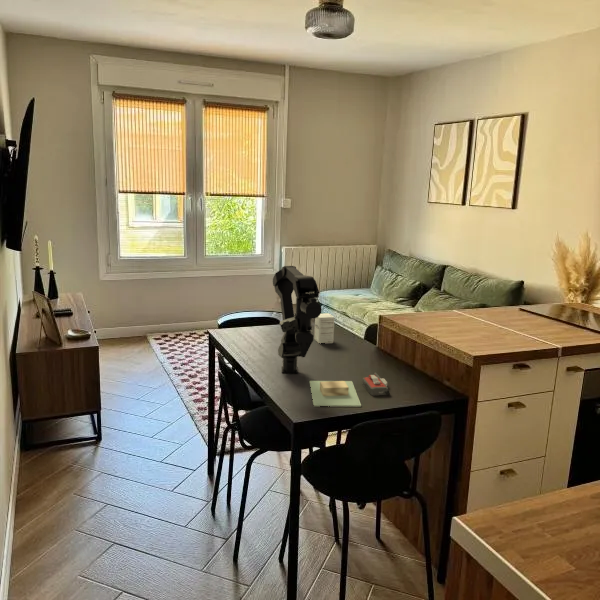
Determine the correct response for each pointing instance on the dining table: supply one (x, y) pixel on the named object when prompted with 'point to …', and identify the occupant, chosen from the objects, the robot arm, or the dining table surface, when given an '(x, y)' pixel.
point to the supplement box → (324, 328)
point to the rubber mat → (334, 401)
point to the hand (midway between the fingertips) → (302, 353)
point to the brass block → (334, 388)
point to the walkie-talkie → (375, 385)
